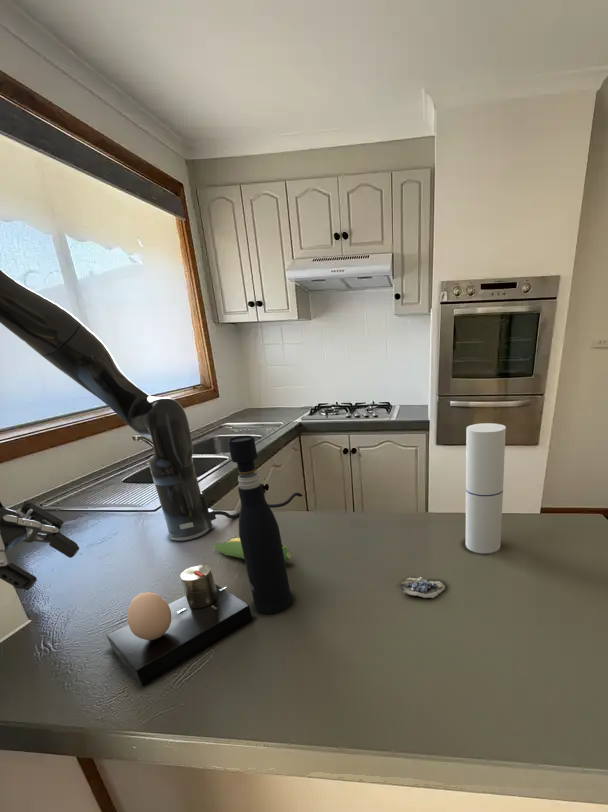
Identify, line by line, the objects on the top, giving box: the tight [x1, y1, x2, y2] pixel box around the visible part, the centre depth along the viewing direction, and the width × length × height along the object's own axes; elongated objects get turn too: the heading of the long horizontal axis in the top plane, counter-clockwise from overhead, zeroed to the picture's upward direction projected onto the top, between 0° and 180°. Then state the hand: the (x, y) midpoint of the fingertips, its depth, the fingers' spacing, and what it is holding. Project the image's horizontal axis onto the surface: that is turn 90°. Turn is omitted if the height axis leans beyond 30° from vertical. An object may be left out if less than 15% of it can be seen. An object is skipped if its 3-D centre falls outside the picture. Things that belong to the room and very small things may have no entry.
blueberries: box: [400, 576, 446, 599], centre depth 75 cm, size 7×8×2 cm
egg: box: [126, 591, 172, 640], centre depth 63 cm, size 6×6×8 cm
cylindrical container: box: [464, 422, 507, 554], centre depth 84 cm, size 7×7×25 cm
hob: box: [106, 582, 253, 687], centre depth 69 cm, size 18×12×3 cm
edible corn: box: [213, 537, 292, 563], centre depth 90 cm, size 5×20×4 cm, turn 64°
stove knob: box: [179, 564, 218, 608], centre depth 71 cm, size 5×5×6 cm
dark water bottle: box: [227, 435, 292, 615], centre depth 69 cm, size 6×6×30 cm
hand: (55, 567), depth 61 cm, fingers open, 8 cm apart
